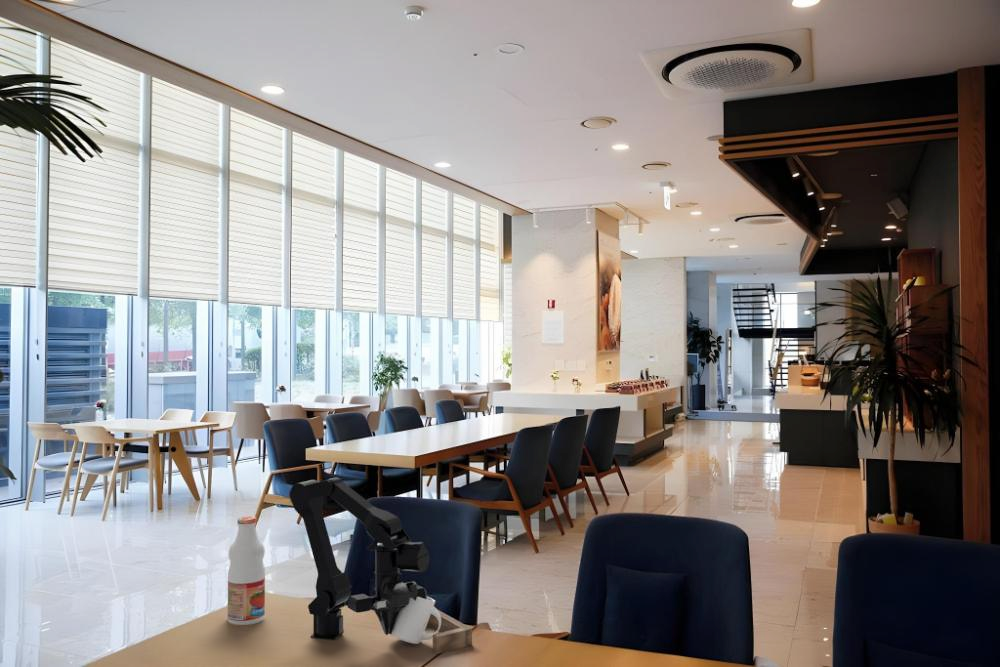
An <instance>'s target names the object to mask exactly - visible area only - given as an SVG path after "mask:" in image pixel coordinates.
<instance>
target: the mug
mask: <svg viewBox="0 0 1000 667" xmlns="http://www.w3.org/2000/svg"><path fill="white" fill-rule="evenodd" d="M435 604H436V600H435V599H433V598H432V597H429V596H427V599H424V598H421V597H418V596H417V598H416V601H415V600H414V599H413V598H410V601H409V604H408V605H406V607H404V608H402V609H401V610H400V612H399V614H398V616H397V618H396V621H395V624H394V627H393V630H392V633H391V634H390V635H391V636H392V637H394V638H396V639H398V640H400V641H403V642H406V643H410V644H413V645H418V644H420V643H421V641H422V640H424V641H428V640H431V639H432V640H433V634H437V633H439V629H440V626H441V616H440V614H439V612H438V610H439V609H437V608H436V607H435ZM431 614H432V615H434V616H435V617H436V618H437V619H438V622H439V627H438V630H436V631H435V632H434V633H432V634H431V633H427V631H426V628H427V623H428V620H429V618H430V615H431Z"/></svg>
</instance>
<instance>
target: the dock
mask: <svg viewBox="0 0 1000 667" xmlns="http://www.w3.org/2000/svg"><path fill="white" fill-rule="evenodd" d="M437 610H438V612H439V614H440V616H441V626H440V629H439V631H438V633H437V634H434V633H432V634H433V638H432V652H433V653H435V654H441V653H446V652H449V651H455V650H458V649H461V648H465V647H470V646H473V628H472V627H470V626H468V625H466V624H464V623H462V622H461V621H459V620H457V619H455V618H454V617H452V616H450V615H448V614H446V613H445V612H442V611H441V610H440V609H437ZM427 626H430V627H431V628H433V629H434V630H436V631H437V630H438V627H439V622H438V619H437V618H436V617H435V616H434V615H432V614H431V615H430V618H429V620H428V623H427ZM427 626H426V627H427Z"/></svg>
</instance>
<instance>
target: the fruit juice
mask: <svg viewBox="0 0 1000 667" xmlns="http://www.w3.org/2000/svg"><path fill="white" fill-rule="evenodd" d="M257 522H258V519H257V517H256V516H242V517H238V518H237V526H238V530H237V534H236V537H235V540H234V541H233V542H232V544H231V545H230V546H229V549H228V558H229V561H230V565H229V568H228V570H227V571H228V572H227V620H226V621H227V622H228V623H229V624H231V625H236V626H239V625H240V626H241V625H242V626H243V625H244V626H246V625H253V624H257V623H261V622H263V621H264V619H266V618H265V614H266V611H265V608H266V607H265V606H266V605H265V604H266V602H265V601H266V600H265V599H266V594H265V593H266V568H265V565H264V561H263V560H264V557H265V550H266V549H265V545H264V544H263V542H262V541H261V540H260V539H259V535H258V533H257V529H256V525H257Z"/></svg>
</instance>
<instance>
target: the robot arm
mask: <svg viewBox="0 0 1000 667" xmlns="http://www.w3.org/2000/svg"><path fill="white" fill-rule="evenodd" d="M325 496H328V497H330V498H331V499H332V500H334V502H336V503H338V505H339V506H341V507H342V508H343V509H345V510H346V511H347V512H348V513H350V514H351V515H353V516H354V518H356V519H357V520H359V521H360V523H361V524H363V526H364V529H365V532H366V533H367V534H368V536H370V538H372V542H371V543H370V544H369V545H368V546H367V550H369V551H375V553H374V554H375V571H374V572H373V577H374V578H375V588H374V589H373V594H374V595H372V596H368V595H367V594H365V593H361V594H360V593H359V594H354V595H351V594H352V589H351V588H352V587H353V585H352V583H351V581H350V578H349V577H350V576H349V573H348V571H344V572H342V570H340V568H339V567H338V566H337V561H336V558H335V555H334V551H333V548H332V544H331V543H332V542H331V540H330V536H329V533H328V529H327V525H326V523H325V518H324V515H323V514H324V513H323V509H324V504H325ZM288 497H289V500H290V502H291V504H292V506H293V509H294V511H295V512H296V513H297V514H298V515H299V516H300V517H301V518H302V519H303V523H304V526H305V530H306V534H307V538H308V542H309V546H310V548H311V549H310V550H311V553H312V556H313V560H314V563H315V567H316V568H315V569H316V571H317V577H316V582H315V591H316V597H315V598H314V599H313V600H312V601H311V602H310V603H309V604H308V605H307V609H308V612H309V614H310V615H313V620H312V621H313V624H312V625H313V627H312V629H313V631H312V634H311V635H310V638H311V639H319V638H320V639H321V640H331V641H332V640H334V641H335V640H336V639H337V638H338V637H339V636H340V635H342V633H344V631H345V630H344V615H342V608H344V607H345V606H346V603H347V608H348V609H350V610H351V611H353V612H355V613H356V614H358V613H364V612H365V613H366V612H369V611H371V610H372V611H373V612H374V613H375V615H376V616H377V618H378V621H379V623H380V626H381V629H382V630H383V634H384V635H385V636H388V635H391V633H392V630H393V627H394V624H395V621H396V618H397V616H398V614H399V612H400V610H401V609H402V608H404V607H406V605H408V604H409V601H410V598H413V599H414V600H415V601H416V598H417V596H418V597H421V598H424V599H427V597H428V595H427V594H428V592H427V590H426V589H425V587H423V586H420V585H418V583H416V581H414V580H412V581H408V582H404V581H403V576H402V575H403V574H402V573H401V572H400V571H405V572H406V571H407V572H408V571H409V572H416V573H419V572H420V573H424V572H425V571H427V570H428V566H429V564H430V553H429V551H428V549H427V548H426V547H425V542H424V541H418V542H417V541H416V542H413V541H412V539H411V538H410V536H409V533H407V532H406V530H405V528H404V526H403V525H402V521H401V518H400V517H398V516H397V515H396V514H394V513H391V512H390V511H388V510H384V509H381V508H378V507H376V506H374V505H373V504H372V503H370V502H369V501H368V500H367V499H365V498H364V497H363V496H362V495H360V494H359V493H357V492H356V491H355V490H354V489H352V488H351V487H350V486H349V485H348V484H346V483H345V482H344V480H343V479H342V478H340V477H332V478H328V479H325V480H324V481H320V482H319V481H318V480H316V479H310V480H306V481H301V482H297V483H294V484H293V485H292V486H291V487H290V490H289V495H288ZM393 539H395V540H393Z"/></svg>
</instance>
